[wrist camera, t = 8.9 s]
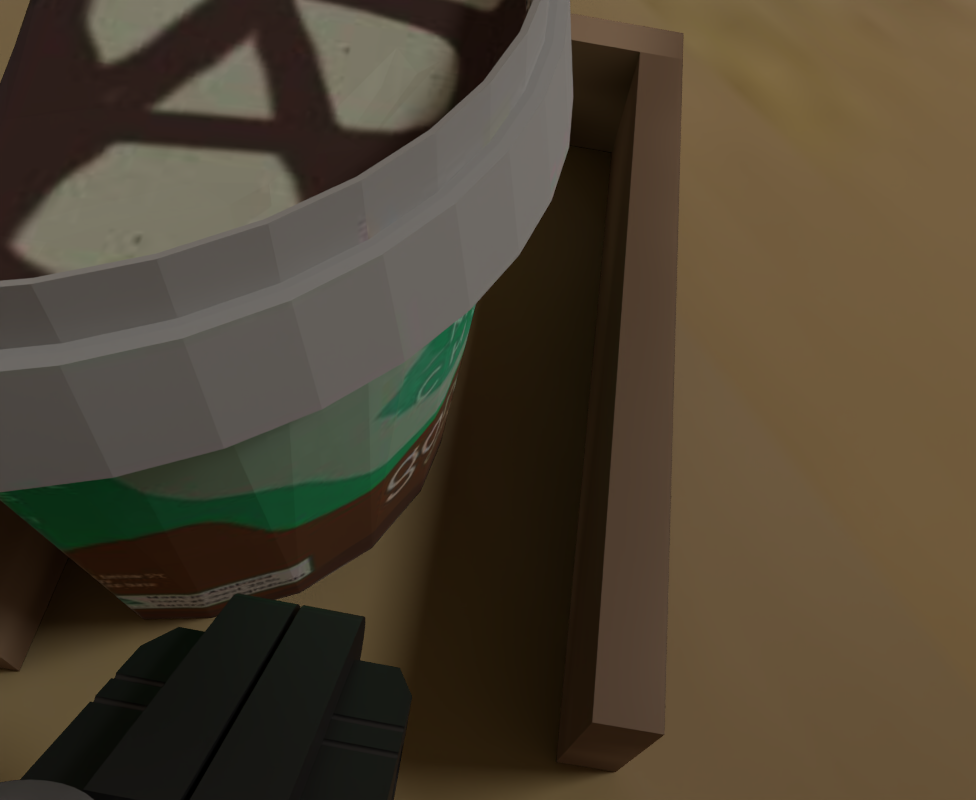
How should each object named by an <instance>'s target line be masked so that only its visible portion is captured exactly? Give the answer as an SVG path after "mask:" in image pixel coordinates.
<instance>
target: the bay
mask: <svg viewBox="0 0 976 800" xmlns="http://www.w3.org/2000/svg"><path fill="white" fill-rule="evenodd" d="M570 18H571V46H572V75H573V106H572V118H571V130H570V141H569V145H572V146H578V147H584V148H589V149H595V150H601V151H607V152H612V154H611V165H610V176H609V187H608V198H607V209H606V220H605V231H604V242H603V253H602V264H601V275H600V286H599V297H598V308H597V319H596V330H595V341H594V352H593V363H592V374H591V385H590V396H589V407H588V418H587V429H586V440H585V451H584V462H583V473H582V484H581V495H580V506H579V517H578V528H577V539H576V550H575V561H574V572H573V583H572V594H571V605H570V616H569V627H568V638H567V649H566V660H565V671H564V682H563V693H562V704H561V715H560V726H559V737H558V748H557V759H556V762H559V763H565V764H571V765H577V766H583V767H589V768H595V769H601V770H606V771H612V772H616V771H618V770H619V769H620V768H621V767H623V766H624V765H625V764H627V763H628V762H629V761H631V760H632V759H633V758H634V757H636V756H637V755H638V754H640V753H641V752H642V751H644V750H645V749H646V748H648V747H649V746H650V745H651V744H653V743H654V742H655V741H657V740H658V739H659V738H661V737H662V736H663V735H664V729H665V692H666V655H667V619H668V582H669V546H670V509H671V472H672V436H673V399H674V362H675V326H676V289H677V252H678V216H679V179H680V143H681V106H682V69H683V33H679V32H673V31H667V30H662V29H656V28H650V27H645V26H639V25H633V24H628V23H622V22H616V21H611V20H605V19H599V18H594V17H588V16H582V15H577V14H571V13H570ZM67 559H68V556H67V555H66V554H64V553H63V552H62V551H61V550H60V549H58V548H57V547H56V546H55V545H54V544H52V543H51V542H50V541H49V540H48V539H46V538H45V537H44V536H43V535H42V534H40V533H39V532H38V531H37V530H36V529H34V528H33V527H32V526H31V525H30V524H28V523H27V522H26V521H25V520H24V519H22V518H21V517H20V516H19V515H17V514H16V513H15V512H14V511H13V510H11V509H10V508H9V507H8V506H7V505H5V504H4V503H3V502H2V501H1V500H0V668H4V669H10V670H16V671H19V670H20V668H21V666H22V663H23V661H24V659H25V657H26V654H27V652H28V650H29V647H30V645H31V643H32V640H33V638H34V636H35V633H36V631H37V629H38V626H39V624H40V622H41V620H42V617H43V615H44V613H45V610H46V608H47V606H48V603H49V601H50V599H51V596H52V594H53V592H54V590H55V587H56V585H57V583H58V580H59V578H60V576H61V573H62V571H63V569H64V566H65V564H66V562H67Z"/></svg>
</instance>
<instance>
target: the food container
mask: <svg viewBox="0 0 976 800" xmlns="http://www.w3.org/2000/svg"><path fill="white" fill-rule="evenodd" d="M572 106H573V75H572V46H571V18H570V0H30V3H29V5H28V8H27V11H26V14H25V17H24V20H23V23H22V26H21V29H20V32H19V35H18V38H17V41H16V44H15V47H14V49H13V52H12V54H11V57H10V60H9V62H8V65H7V67H6V70H5V72H4V75H3V77H2V80H1V83H0V500H1V501H2V502H3V503H4V504H5V505H7V506H8V507H9V508H10V509H11V510H13V511H14V512H15V513H16V514H17V515H19V516H20V517H21V518H22V519H24V520H25V521H26V522H27V523H28V524H30V525H31V526H32V527H33V528H34V529H36V530H37V531H38V532H39V533H40V534H42V535H43V536H44V537H45V538H46V539H48V540H49V541H50V542H51V543H52V544H54V545H55V546H56V547H57V548H58V549H60V550H61V551H62V552H63V553H64V554H66V555H67V556H68V557H69V558H70V559H72V560H73V561H74V562H75V563H77V564H78V565H79V566H80V567H81V568H83V569H84V570H85V571H86V572H87V573H89V574H90V575H91V576H92V577H93V578H95V579H96V580H97V581H98V582H99V583H101V584H102V585H103V586H104V587H105V588H107V589H108V590H109V591H110V592H111V593H113V594H114V595H115V596H116V597H117V598H119V599H120V600H121V601H122V602H123V603H125V604H126V605H127V606H128V607H130V608H131V609H132V610H133V611H134V612H136V613H137V614H138V615H139V616H140V617H142V618H143V619H167V618H212V617H216V616H218V615H219V613H220V612H221V611H222V609H223V608H224V607H225V605H226V604H227V603H228V602H229V600H230V599H231V598H232V597H233V596H234V595H235V594H236V593H239V594H245V595H250V596H255V597H261V598H266V599H271V600H276V599H279V598H283V597H287V596H290V595H294V594H297V593H300V592H302V591H304V590H305V589H307V588H308V587H310V586H312V585H313V584H315V583H316V582H318V581H320V580H321V579H323V578H324V577H326V576H328V575H329V574H331V573H332V572H334V571H336V570H337V569H339V568H340V567H342V566H344V565H345V564H347V563H348V562H350V561H352V560H353V559H355V558H356V557H358V556H360V555H361V554H363V553H364V552H366V551H368V550H369V549H371V548H372V547H373V546H374V545H375V544H376V543H377V541H378V540H379V539H380V538H381V537H382V536H383V534H384V533H385V532H386V531H387V530H388V529H389V527H390V526H391V525H392V524H393V523H394V522H395V520H396V519H397V518H398V517H399V516H400V515H401V513H402V512H403V511H404V510H405V509H406V508H407V506H408V505H409V504H410V503H411V502H412V501H413V499H414V498H415V497H416V496H417V495H418V494H419V492H420V491H421V489H422V487H423V484H424V482H425V479H426V477H427V474H428V472H429V470H430V467H431V465H432V462H433V460H434V457H435V455H436V453H437V450H438V448H439V445H440V443H441V439H442V435H443V431H444V427H445V424H446V420H447V416H448V412H449V408H450V404H451V400H452V396H453V392H454V388H455V384H456V380H457V376H458V372H459V368H460V365H461V361H462V357H463V353H464V349H465V345H466V341H467V337H468V333H469V329H470V325H471V321H472V317H473V313H474V310H475V306H476V303H477V302H478V301H479V300H480V298H481V297H482V296H483V295H484V294H485V293H486V292H487V291H488V289H489V288H490V287H491V286H492V285H493V284H494V283H495V282H496V281H497V279H498V278H499V277H500V276H501V275H502V274H503V273H504V272H505V270H506V269H507V268H508V267H509V266H510V265H511V264H512V263H513V261H514V260H515V259H516V258H517V257H518V256H519V255H520V253H521V251H522V250H523V248H524V246H525V244H526V243H527V241H528V239H529V238H530V236H531V234H532V233H533V231H534V229H535V228H536V226H537V224H538V223H539V221H540V219H541V217H542V216H543V214H544V212H545V211H546V209H547V207H548V206H549V204H550V202H551V201H552V198H553V194H554V191H555V188H556V185H557V182H558V179H559V176H560V173H561V170H562V167H563V164H564V161H565V158H566V155H567V152H568V149H569V141H570V130H571V118H572Z"/></svg>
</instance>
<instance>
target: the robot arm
mask: <svg viewBox="0 0 976 800" xmlns="http://www.w3.org/2000/svg"><path fill="white" fill-rule="evenodd" d="M364 631H365V617H364V616H358V615H353V614H348V613H342V612H337V611H331V610H326V609H321V608H315V607H310V606H305V605H304V606H302V607H301V608H300V606H299V605H298V604H293V603H287V602H282V601H277V600H271V599H266V598H261V597H255V596H250V595H245V594H239V593H236V594H235V595H234V596H233V597H232V598H231V599H230V600H229V602H228V603H227V604H226V605H225V607H224V608H223V609H222V611H221V612H220V613H219V615H218V616H217V617H216V618H215V620H214V621H213V622H212V624H211V625H210V626H209V627H208V629H207V630H206V631H205V632H203V631H198V630H192V629H187V628H182V627H178V628H176V629H174V630H172V631H170V632H168V633H166V634H164V635H162V636H160V637H158V638H155V639H153V640H151V641H149V642H147V643H145V644H143V645H141V646H140V647H139V648H138V649H137V650H136V651H135V652H134V654H133V655H132V656H131V657H130V658H129V659H128V660H127V661H126V662H125V664H124V665H123V666H122V667H121V668H120V669H119V670H118V671H117V672H116V676H115V678H114V679H112V678H111V679H110V680H109V681H108V682H107V684H106V685H105V686H104V687H103V688H102V689H101V690H100V691H99V692H98V694H97V695H96V696H95V700H94V702H89V704H88V705H87V706H86V707H85V708H84V709H83V710H82V711H81V712H80V714H79V715H78V716H77V717H76V718H75V719H74V720H73V721H72V722H71V724H70V725H69V726H68V727H67V728H66V729H65V730H64V731H63V732H62V734H61V735H60V736H59V737H58V738H57V739H56V740H55V741H54V742H53V744H52V745H51V746H50V747H49V748H48V749H47V750H46V751H45V752H44V754H43V755H42V756H41V757H40V758H39V759H38V760H37V761H36V762H35V764H34V765H33V766H32V767H31V768H30V769H29V770H28V771H27V772H26V774H25V775H24V776H23V777H22V778H21V779H20V780H13V781H6V782H0V800H394V795H395V790H396V784H397V778H398V773H399V767H400V761H401V756H402V750H403V745H404V739H405V733H406V728H407V722H408V716H409V711H410V705H411V700H412V695H411V693H410V691H409V688H408V686H407V684H406V681H405V679H404V677H403V674H402V672H401V670H400V668H397V667H392V666H387V665H381V664H376V663H371V662H365V661H360V657H361V651H362V645H363V638H364Z"/></svg>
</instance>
